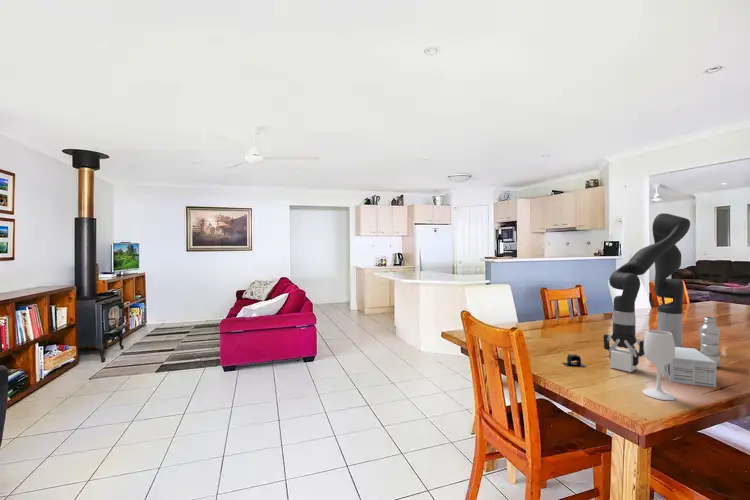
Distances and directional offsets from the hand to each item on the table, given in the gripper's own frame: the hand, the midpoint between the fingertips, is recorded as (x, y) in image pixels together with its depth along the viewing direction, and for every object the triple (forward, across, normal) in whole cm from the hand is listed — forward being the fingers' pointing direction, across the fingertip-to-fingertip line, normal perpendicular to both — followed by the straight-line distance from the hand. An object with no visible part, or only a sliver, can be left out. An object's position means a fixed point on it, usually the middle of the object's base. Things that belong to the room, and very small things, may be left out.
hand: (623, 363), depth 144 cm
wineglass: (+2, -16, +20) cm, 26 cm away
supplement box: (+3, -17, -8) cm, 19 cm away
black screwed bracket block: (+3, +14, +10) cm, 18 cm away
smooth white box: (+2, 0, 0) cm, 2 cm away
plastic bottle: (+3, -21, -30) cm, 37 cm away
